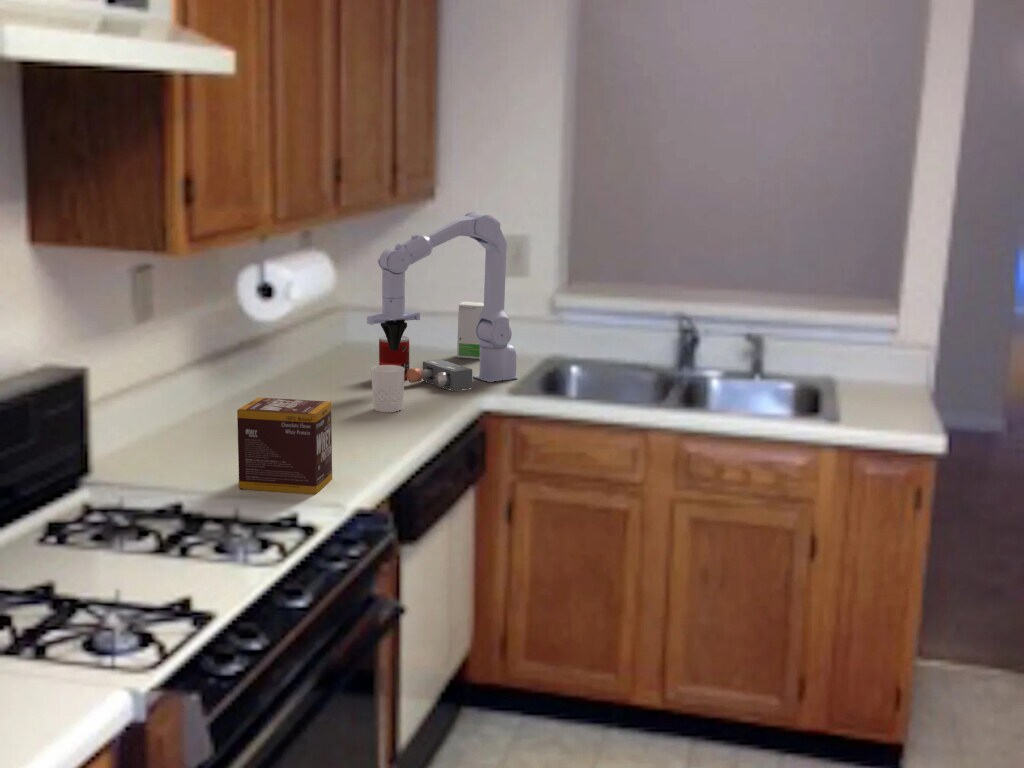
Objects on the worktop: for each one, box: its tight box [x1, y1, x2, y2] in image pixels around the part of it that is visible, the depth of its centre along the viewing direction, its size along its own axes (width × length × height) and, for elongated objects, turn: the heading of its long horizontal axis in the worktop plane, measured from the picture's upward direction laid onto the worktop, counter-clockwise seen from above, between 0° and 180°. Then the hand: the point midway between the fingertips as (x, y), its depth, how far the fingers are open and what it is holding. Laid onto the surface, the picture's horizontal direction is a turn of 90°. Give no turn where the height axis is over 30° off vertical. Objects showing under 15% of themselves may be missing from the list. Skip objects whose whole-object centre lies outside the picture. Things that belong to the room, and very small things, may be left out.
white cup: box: [370, 365, 405, 413], centre depth 301 cm, size 8×8×10 cm
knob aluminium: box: [435, 372, 451, 388], centre depth 325 cm, size 8×4×4 cm, turn 126°
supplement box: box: [236, 397, 333, 495], centre depth 240 cm, size 10×15×16 cm
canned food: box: [378, 335, 410, 381], centre depth 335 cm, size 8×8×11 cm
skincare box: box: [456, 301, 484, 360], centre depth 365 cm, size 8×7×16 cm
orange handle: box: [406, 367, 433, 384], centre depth 329 cm, size 8×4×4 cm, turn 126°
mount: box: [422, 359, 473, 392], centre depth 329 cm, size 6×15×5 cm, turn 36°
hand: (393, 350), depth 322 cm, fingers closed
